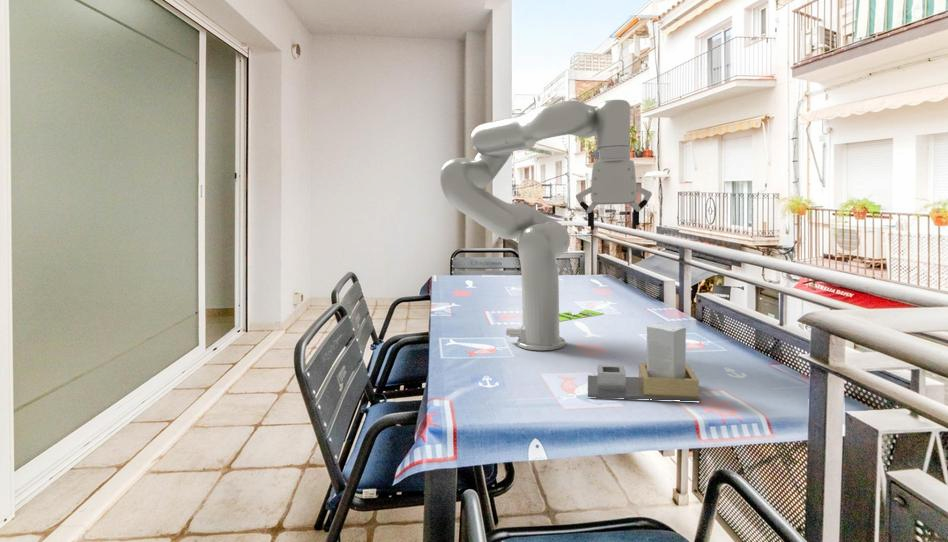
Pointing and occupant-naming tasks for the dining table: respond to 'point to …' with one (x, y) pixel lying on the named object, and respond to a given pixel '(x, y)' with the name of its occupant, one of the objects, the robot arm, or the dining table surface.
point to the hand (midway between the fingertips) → (613, 229)
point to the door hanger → (577, 315)
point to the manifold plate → (642, 385)
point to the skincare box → (666, 351)
